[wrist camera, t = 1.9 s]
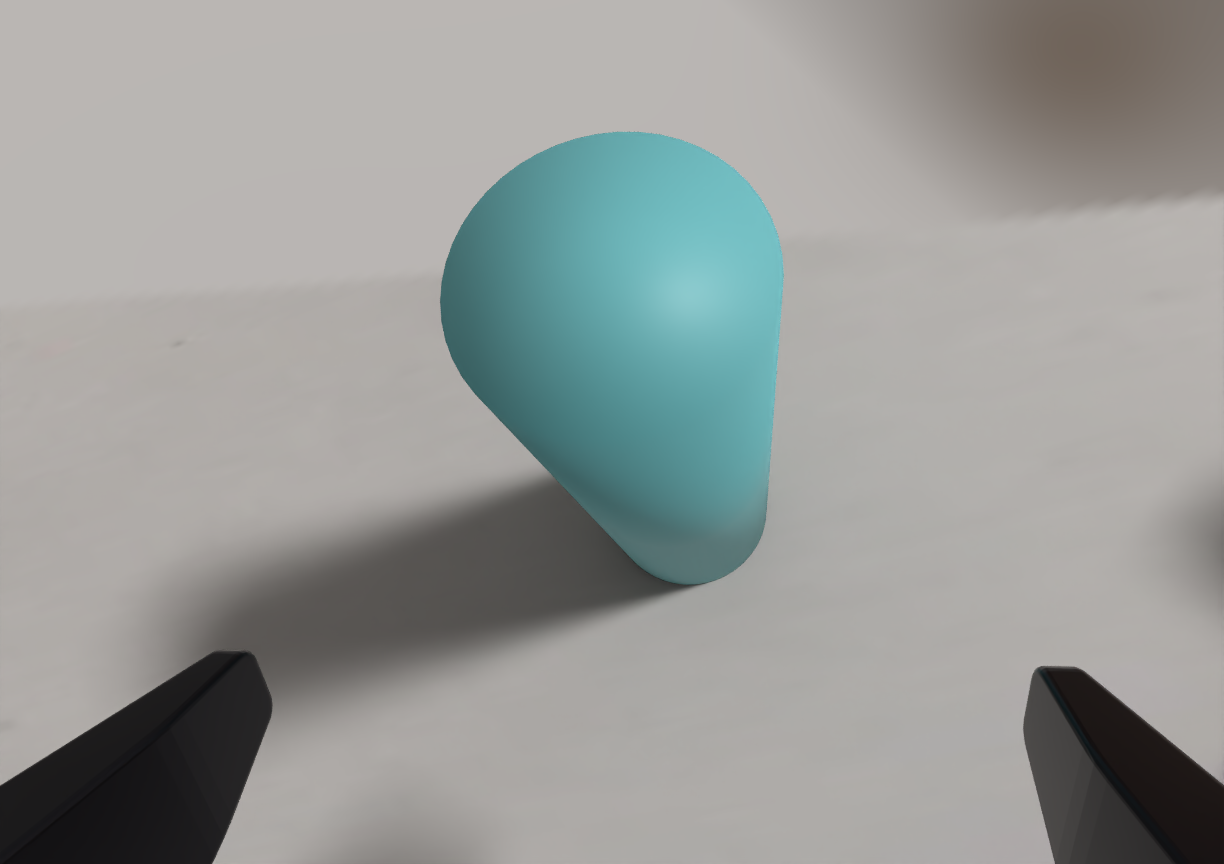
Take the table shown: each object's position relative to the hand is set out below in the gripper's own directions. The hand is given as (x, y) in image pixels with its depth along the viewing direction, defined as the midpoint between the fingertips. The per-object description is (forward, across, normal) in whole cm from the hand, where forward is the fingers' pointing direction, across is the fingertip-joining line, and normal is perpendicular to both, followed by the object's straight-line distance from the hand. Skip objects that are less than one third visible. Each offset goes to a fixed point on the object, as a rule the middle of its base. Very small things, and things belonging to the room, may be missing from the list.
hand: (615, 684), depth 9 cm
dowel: (+11, 0, +5) cm, 12 cm away
